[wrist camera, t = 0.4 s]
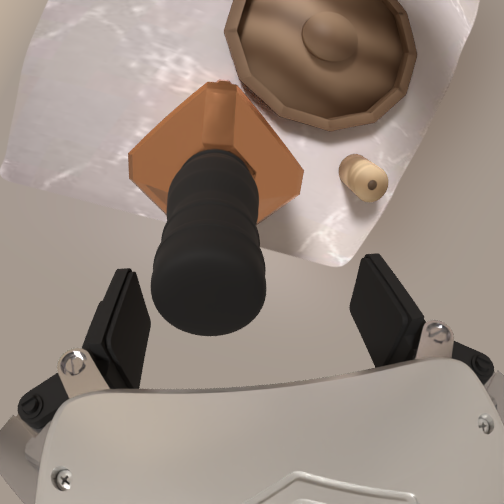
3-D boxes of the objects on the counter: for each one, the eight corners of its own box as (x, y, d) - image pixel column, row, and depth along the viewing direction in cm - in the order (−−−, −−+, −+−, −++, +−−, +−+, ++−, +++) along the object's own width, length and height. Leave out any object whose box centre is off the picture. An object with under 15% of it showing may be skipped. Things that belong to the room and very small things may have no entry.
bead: (345, 149, 38) (363, 162, 33) (373, 159, 39) (393, 173, 34) (334, 181, 41) (349, 197, 36) (362, 189, 42) (380, 206, 37)
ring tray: (255, -58, 20) (257, -66, 18) (418, 9, 25) (428, 7, 23) (206, 99, 33) (205, 100, 31) (378, 147, 38) (386, 152, 36)
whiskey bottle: (165, 124, 34) (12, 281, 7) (224, 75, 31) (228, 35, 5) (216, 179, 39) (210, 411, 12) (274, 135, 36) (407, 309, 10)
